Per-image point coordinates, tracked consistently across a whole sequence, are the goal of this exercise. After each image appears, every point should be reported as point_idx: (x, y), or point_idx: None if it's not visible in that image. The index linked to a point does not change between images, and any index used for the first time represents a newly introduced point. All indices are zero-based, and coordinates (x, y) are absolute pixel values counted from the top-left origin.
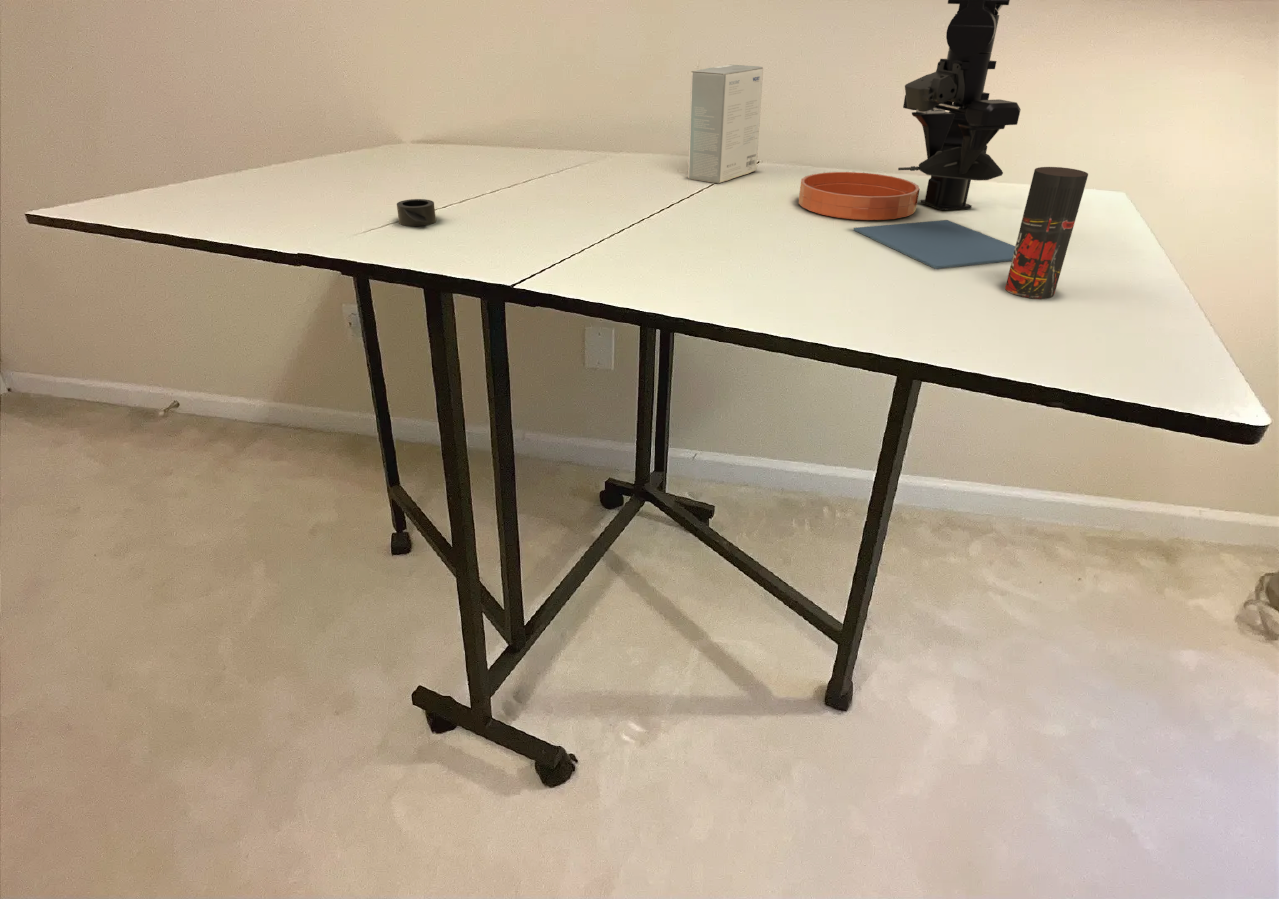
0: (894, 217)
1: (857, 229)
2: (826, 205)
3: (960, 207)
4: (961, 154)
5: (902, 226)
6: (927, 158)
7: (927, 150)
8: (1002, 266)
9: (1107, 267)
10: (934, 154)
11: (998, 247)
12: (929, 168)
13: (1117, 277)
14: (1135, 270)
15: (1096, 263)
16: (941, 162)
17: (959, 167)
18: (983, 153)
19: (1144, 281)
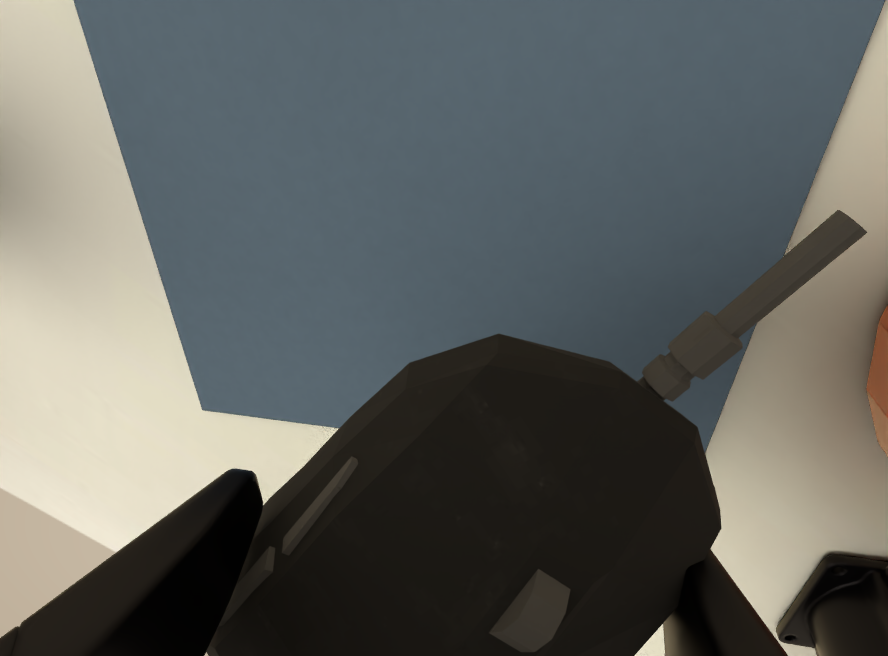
0: (885, 313)
1: None
2: None
3: (794, 608)
4: (129, 596)
5: (731, 242)
6: (726, 572)
7: (761, 649)
8: (117, 240)
9: (123, 479)
10: (679, 636)
11: (302, 371)
12: (455, 376)
13: (39, 439)
14: (102, 507)
15: (156, 484)
16: (380, 485)
17: (223, 497)
18: None
19: (16, 462)
